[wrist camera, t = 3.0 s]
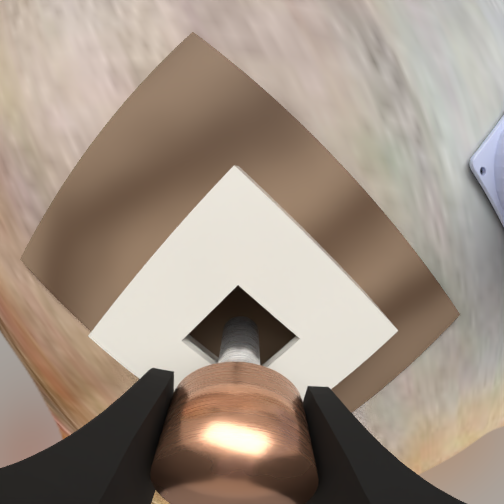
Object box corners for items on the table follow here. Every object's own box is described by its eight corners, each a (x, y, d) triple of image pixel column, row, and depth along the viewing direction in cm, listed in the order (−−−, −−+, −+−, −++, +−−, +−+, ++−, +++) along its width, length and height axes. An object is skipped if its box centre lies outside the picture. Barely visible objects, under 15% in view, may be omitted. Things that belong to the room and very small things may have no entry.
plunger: (304, 329, 13) (351, 480, 6) (242, 382, 13) (240, 532, 6) (238, 271, 12) (224, 410, 5) (177, 332, 13) (121, 478, 5)
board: (456, 311, 17) (460, 314, 17) (278, 457, 20) (279, 461, 20) (194, 34, 13) (192, 31, 13) (23, 257, 16) (20, 259, 16)
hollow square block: (363, 290, 16) (398, 330, 12) (246, 392, 18) (245, 449, 14) (238, 166, 15) (234, 165, 10) (124, 295, 16) (88, 336, 12)
